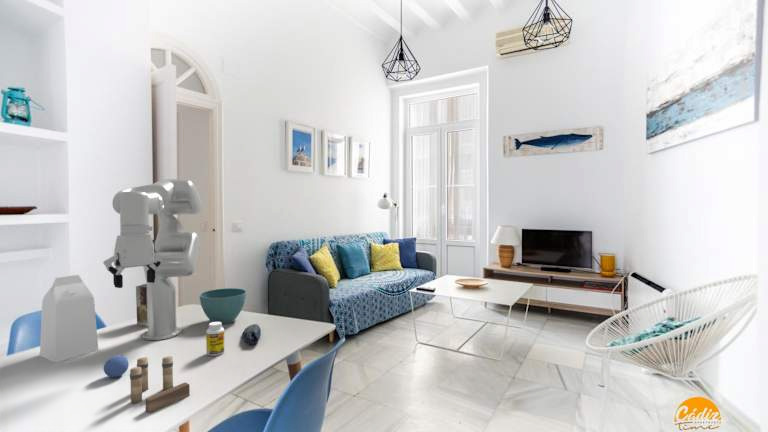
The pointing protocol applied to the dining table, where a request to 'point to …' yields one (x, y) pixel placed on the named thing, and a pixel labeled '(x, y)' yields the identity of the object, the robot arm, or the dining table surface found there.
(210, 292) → the teal bowl
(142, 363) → the front pin
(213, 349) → the supplement bottle
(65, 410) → the dining table surface
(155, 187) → the robot arm
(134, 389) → the back right pin
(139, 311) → the coffee box
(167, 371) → the back left pin
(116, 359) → the ball
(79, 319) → the milk
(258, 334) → the fish model
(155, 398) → the back wall
